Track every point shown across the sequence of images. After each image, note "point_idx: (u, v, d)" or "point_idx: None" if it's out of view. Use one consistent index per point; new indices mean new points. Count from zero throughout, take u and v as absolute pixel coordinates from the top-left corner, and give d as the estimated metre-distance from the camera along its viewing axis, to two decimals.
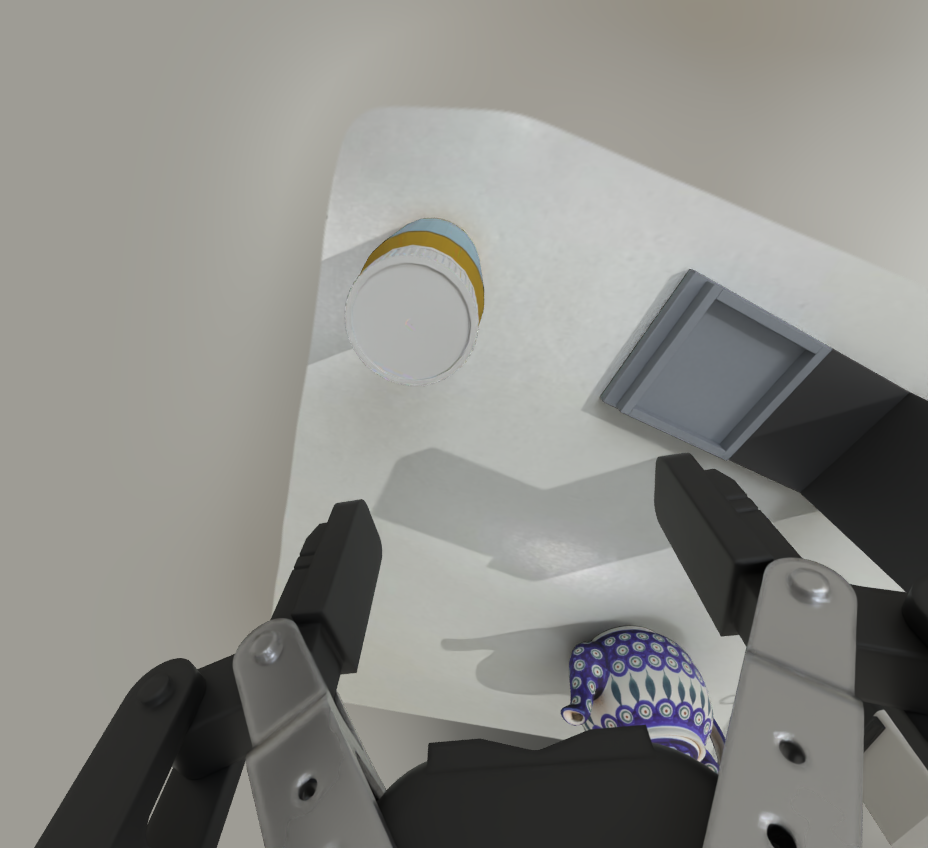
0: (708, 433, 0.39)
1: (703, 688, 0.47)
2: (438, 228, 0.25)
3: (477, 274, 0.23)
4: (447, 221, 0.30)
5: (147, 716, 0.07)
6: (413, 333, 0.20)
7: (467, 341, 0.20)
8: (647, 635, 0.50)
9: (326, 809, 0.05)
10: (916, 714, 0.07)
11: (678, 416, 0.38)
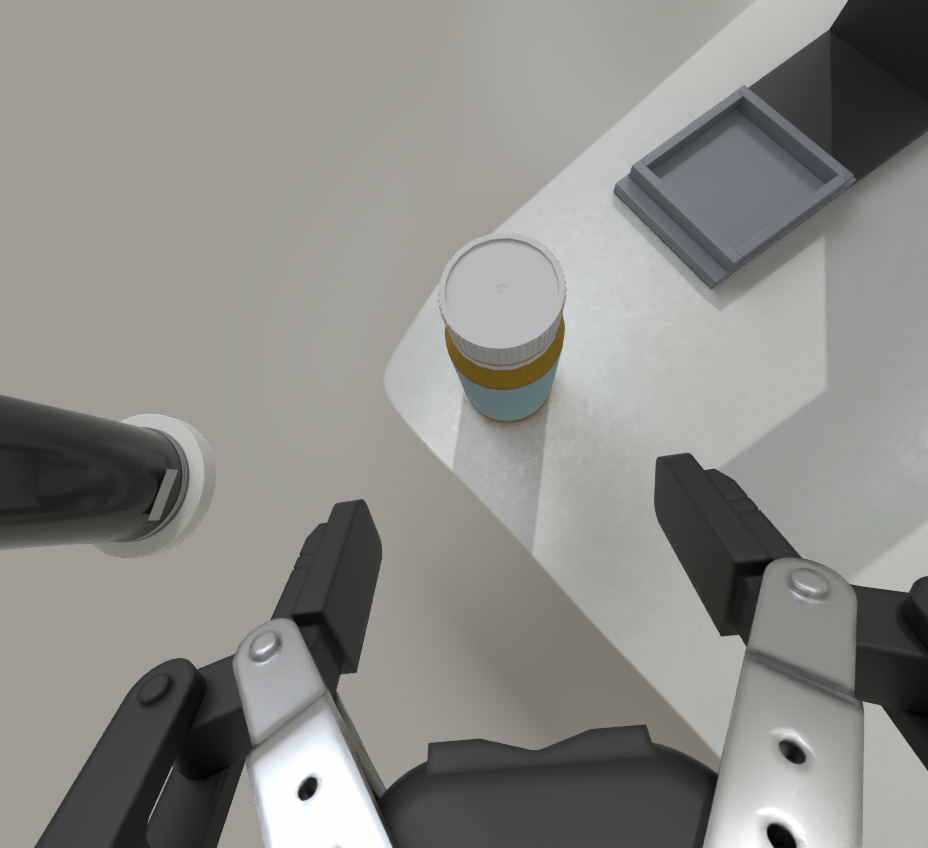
0: (806, 194, 0.34)
1: None
2: None
3: None
4: None
5: (146, 716, 0.07)
6: (509, 292, 0.21)
7: (540, 252, 0.21)
8: None
9: (326, 809, 0.05)
10: (916, 714, 0.07)
11: (769, 217, 0.34)
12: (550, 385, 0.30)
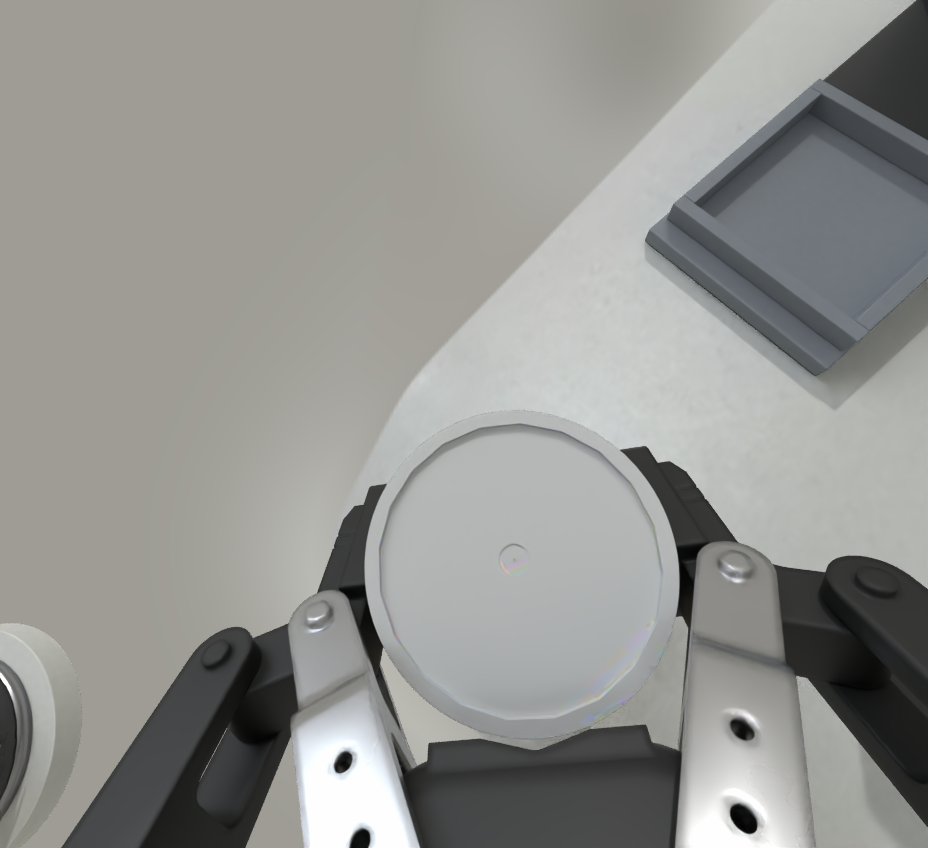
0: None
1: None
2: None
3: None
4: None
5: (206, 679, 0.08)
6: (534, 565, 0.08)
7: (599, 456, 0.09)
8: None
9: (358, 786, 0.05)
10: (843, 689, 0.07)
11: (890, 264, 0.23)
12: None
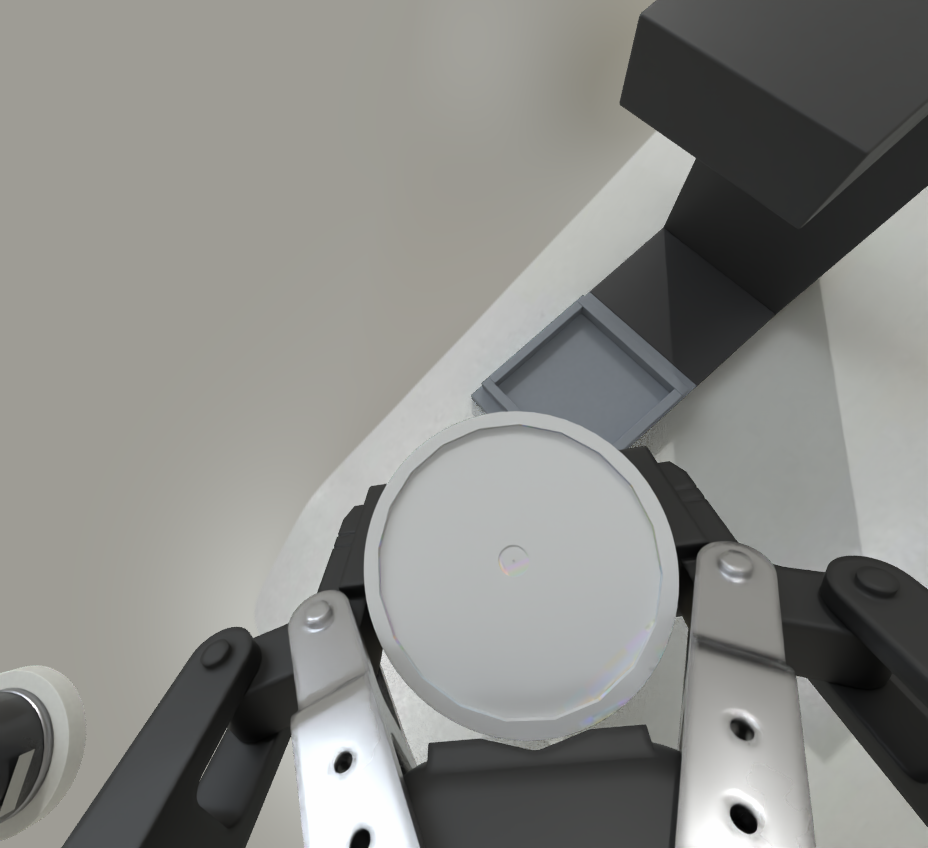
0: (650, 402, 0.35)
1: None
2: None
3: None
4: None
5: (207, 679, 0.08)
6: (534, 567, 0.08)
7: (598, 457, 0.09)
8: None
9: (358, 786, 0.05)
10: (843, 689, 0.07)
11: (616, 429, 0.35)
12: None
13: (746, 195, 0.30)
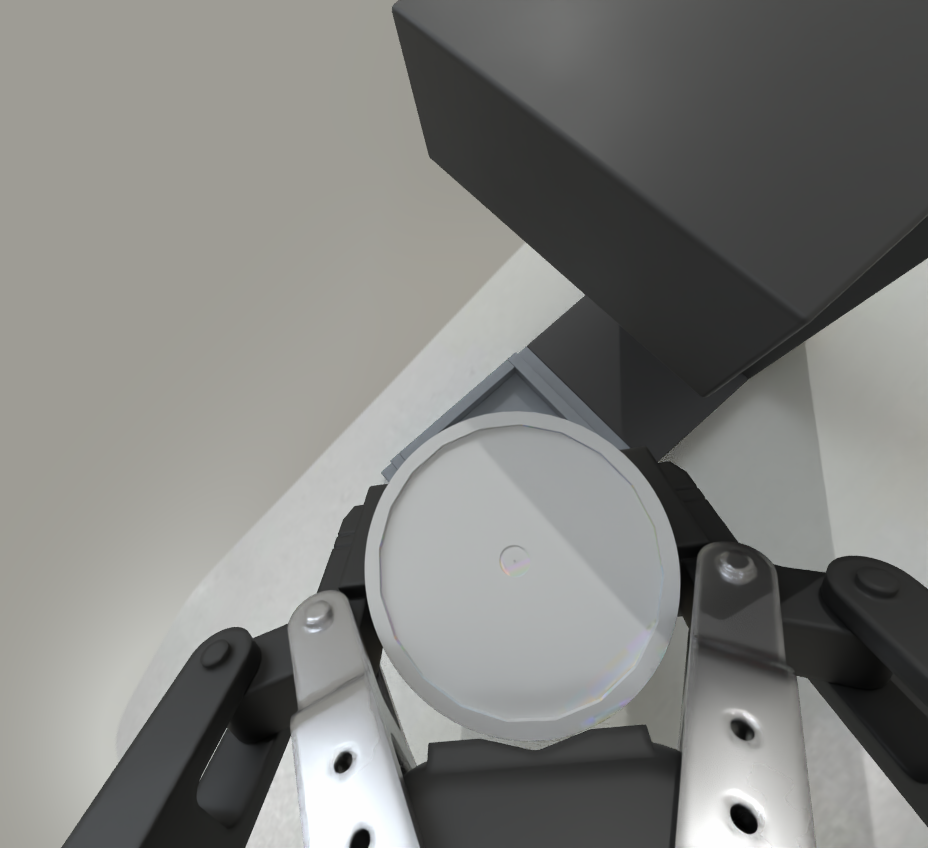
0: None
1: None
2: None
3: None
4: None
5: (206, 679, 0.08)
6: (535, 567, 0.08)
7: (599, 457, 0.09)
8: None
9: (358, 786, 0.05)
10: (843, 689, 0.07)
11: None
12: None
13: None
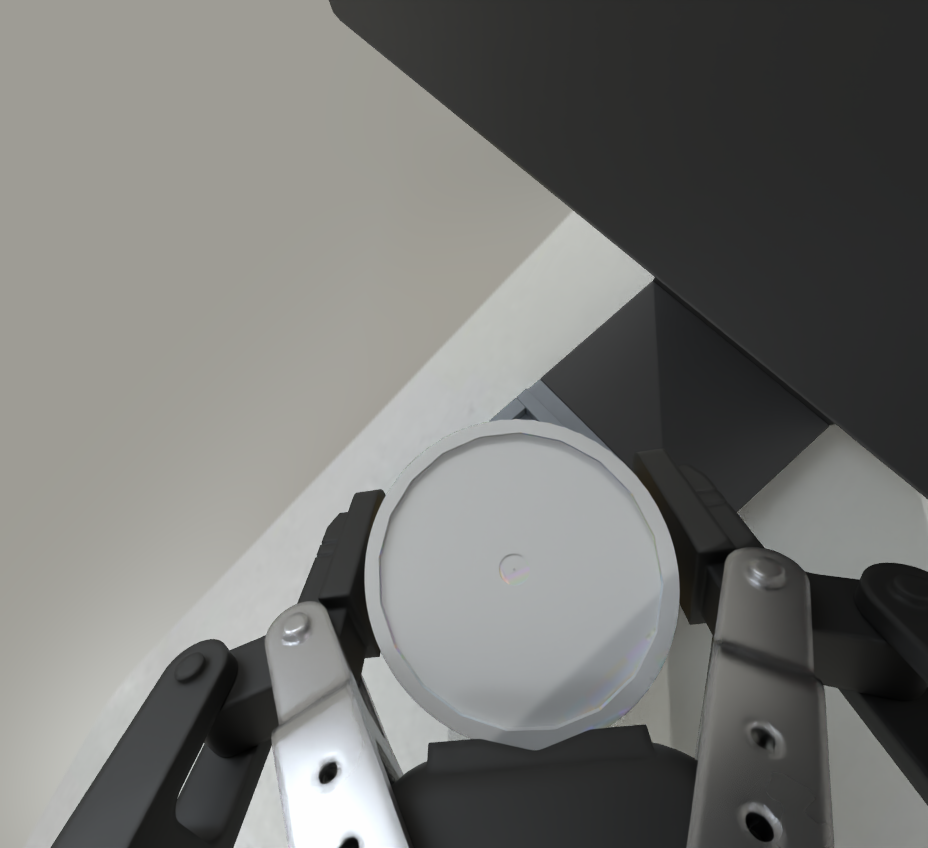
0: None
1: None
2: None
3: None
4: None
5: (181, 693, 0.07)
6: (535, 575, 0.08)
7: (599, 465, 0.09)
8: None
9: (344, 795, 0.05)
10: (873, 698, 0.07)
11: None
12: None
13: None
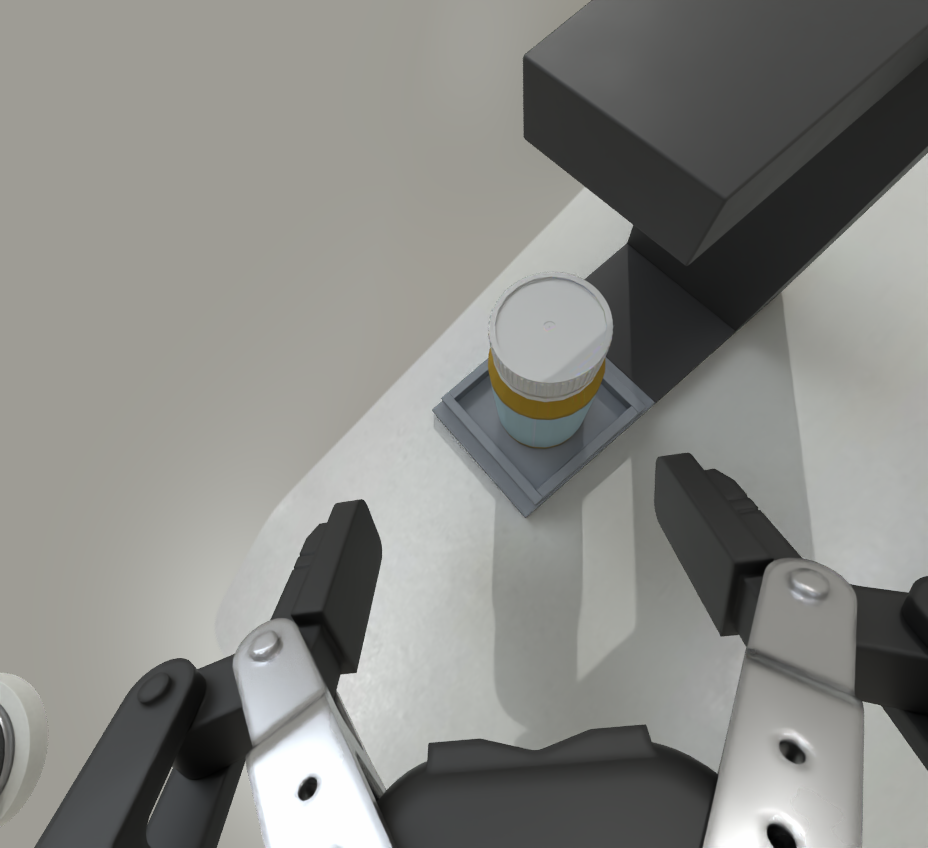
0: (608, 419, 0.35)
1: None
2: None
3: None
4: None
5: (146, 716, 0.07)
6: (557, 328, 0.21)
7: (583, 287, 0.22)
8: None
9: (326, 809, 0.05)
10: (916, 714, 0.07)
11: (574, 445, 0.35)
12: None
13: None
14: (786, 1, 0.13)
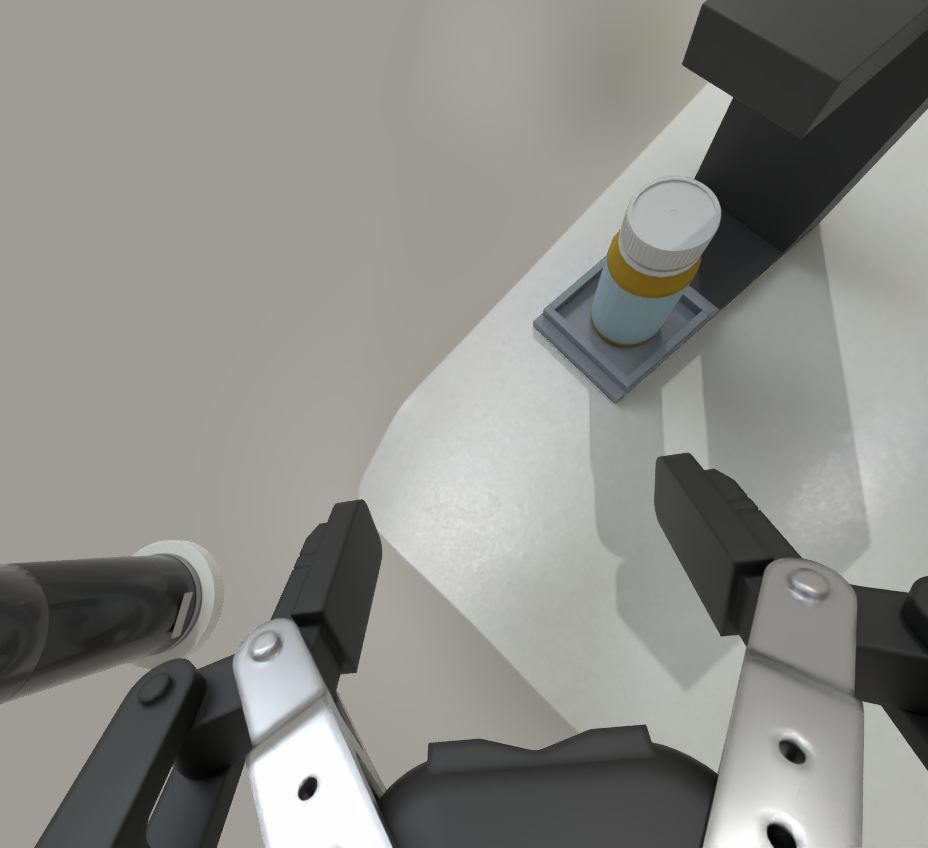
0: (682, 323, 0.43)
1: None
2: None
3: None
4: None
5: (146, 716, 0.07)
6: (679, 214, 0.30)
7: (696, 186, 0.30)
8: None
9: (326, 809, 0.05)
10: (916, 714, 0.07)
11: (654, 344, 0.43)
12: None
13: (760, 151, 0.38)
14: None
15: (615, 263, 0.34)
